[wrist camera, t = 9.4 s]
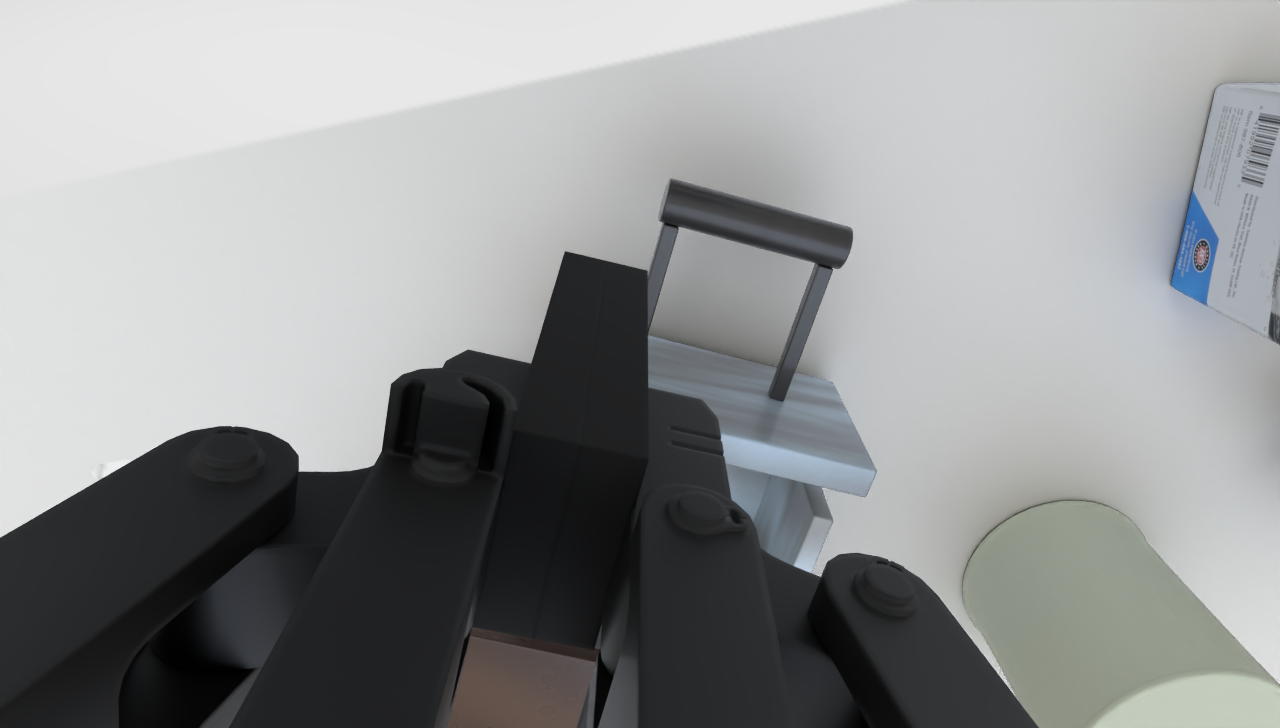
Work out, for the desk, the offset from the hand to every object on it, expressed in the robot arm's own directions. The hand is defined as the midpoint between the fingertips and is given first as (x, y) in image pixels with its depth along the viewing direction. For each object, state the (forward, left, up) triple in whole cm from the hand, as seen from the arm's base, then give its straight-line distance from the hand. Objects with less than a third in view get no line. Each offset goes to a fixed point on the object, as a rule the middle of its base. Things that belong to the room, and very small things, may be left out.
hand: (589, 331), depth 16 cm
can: (+15, +26, -21) cm, 37 cm away
